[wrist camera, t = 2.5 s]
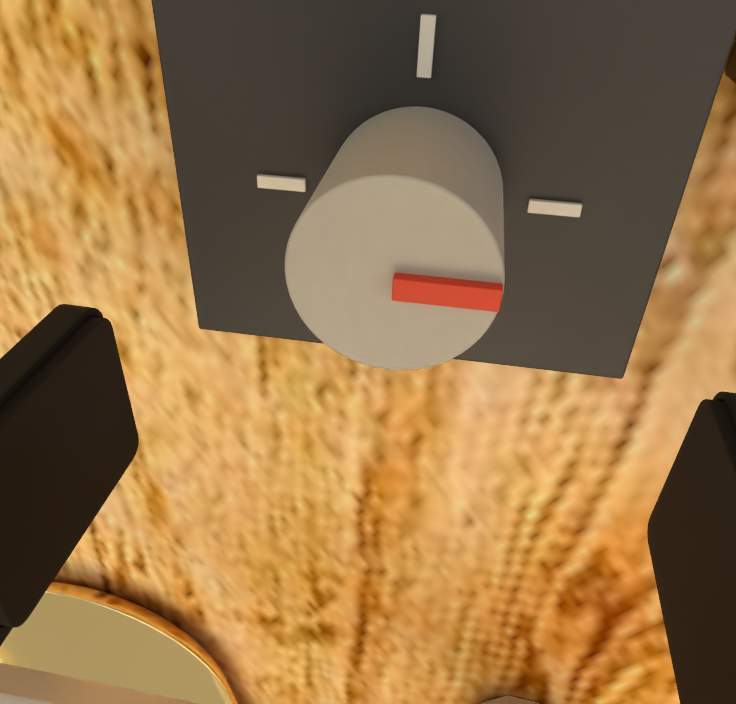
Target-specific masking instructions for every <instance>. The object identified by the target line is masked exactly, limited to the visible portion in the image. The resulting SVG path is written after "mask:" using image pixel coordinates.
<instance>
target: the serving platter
mask: <svg viewBox="0 0 736 704" xmlns="http://www.w3.org/2000/svg"><path fill="white" fill-rule="evenodd" d="M0 663H4V664H9V665H14V666H19V667H24V668H28V669H33V670H38V671H43V672H48V673H53V674H58V675H63V676H68V677H72V678H77V679H82V680H87V681H92V682H97V683H102V684H107V685H111V686H116V687H121V688H126V689H131V690H136V691H141V692H146V693H151V694H155V695H160V696H165V697H170V698H175V699H179V700H184V701H189V702H194V703H198V704H238V702H237V700H236V698H235V696H234V694H233V692H232V690H231V688H230V686H229V684H228V682H227V680H226V678H225V676H224V674H223V672H222V671H221V669H220V668H219V666H218V665H217V663H216V662H215V661H214V660H213V658H212V657H211V656H210V655H209V654H208V653H207V652H206V650H205V649H204V648H203V647H201V646H200V645H199V644H198V643H197V642H196V641H195V640H194V639H193V638H191V637H190V636H189V635H188V634H186V633H185V632H184V631H182V630H181V629H180V628H178V627H177V626H175V625H174V624H172V623H171V622H169V621H168V620H166V619H164V618H163V617H161V616H159V615H157V614H155V613H154V612H152V611H150V610H148V609H146V608H144V607H142V606H139V605H137V604H135V603H133V602H130V601H128V600H125V599H123V598H120V597H117V596H115V595H112V594H108V593H105V592H102V591H99V590H95V589H91V588H87V587H83V586H78V585H73V584H66V583H59V582H52V583H51V584H50V586H49V587H48V589H47V590H46V592H45V594H44V595H43V597H42V598H41V600H40V601H39V603H38V604H37V606H36V607H35V609H34V610H33V612H32V613H31V615H30V616H29V618H28V619H27V620H26V621H25V623H23V624H22V625H21V626H19V627H17V628H15V627H13V628H12V630H11V631H10V633H9V634H8V636H7V637H6V639H5V640H4V642H3V643H2V645H1V646H0Z"/></svg>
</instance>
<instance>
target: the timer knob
mask: <svg viewBox="0 0 736 704" xmlns="http://www.w3.org/2000/svg"><path fill="white" fill-rule="evenodd" d="M285 276H286V283H287V287H288V291H289V294H290V297H291V299H292V302H293V304H294V307H295V309H296V310H297V312H298V314H299V316H300V317H301V319H302V320H303V321H304V323H305V324H306V325H307V327H308V328H309V329H310V330H311V331H312V332H313V333H314V334H315V336H316V337H317V338H319V339H320V340H321V341H322V342H323V343H325V344H326V345H327V346H328V347H330V348H331V349H333V350H334V351H336V352H337V353H339V354H341V355H343V356H345V357H347V358H349V359H351V360H353V361H356V362H358V363H361V364H364V365H368V366H371V367H376V368H381V369H388V370H415V369H421V368H427V367H431V366H435V365H438V364H441V363H443V362H446V361H448V360H451V359H452V358H454V357H456V356H458V355H460V354H461V353H463V352H464V351H466V350H467V349H468V348H470V347H471V346H472V345H473V344H474V343H476V342H477V341H478V340H479V339H480V338H481V337H482V336H483V334H484V333H485V332H486V331H487V329H488V328H489V327H490V325H491V323H492V322H493V320H494V318H495V317H496V314H497V312H499V311H500V305H501V301H502V297H503V293H504V283H505V264H504V208H503V181H502V176H501V171H500V168H499V165H498V162H497V159H496V157H495V155H494V153H493V151H492V149H491V148H490V146H489V145H488V144H487V142H486V141H485V139H484V138H483V137H482V136H481V135H480V134H479V133H478V132H477V131H476V130H475V129H474V128H473V127H471V126H470V125H469V124H468V123H466V122H465V121H463V120H461V119H460V118H458V117H456V116H454V115H452V114H450V113H447V112H445V111H441V110H438V109H434V108H428V107H410V106H409V107H401V108H395V109H392V110H388V111H385V112H382V113H380V114H378V115H375V116H373V117H372V118H370V119H368V120H367V121H365V122H364V123H362V124H361V125H360V126H359V127H358V128H356V129H355V130H354V131H353V132H352V133H351V134H350V136H349V137H348V138H347V139H346V141H345V142H344V143H343V145H342V146H341V148H340V150H339V151H338V153H337V155H336V156H335V158H334V160H333V161H332V163H331V165H330V166H329V168H328V170H327V171H326V173H325V175H324V176H323V178H322V180H321V181H320V183H319V185H318V186H317V188H316V190H315V191H314V193H313V195H312V196H311V198H310V200H309V201H308V203H307V205H306V207H305V208H304V210H303V212H302V213H301V215H300V217H299V218H298V220H297V222H296V224H295V226H294V228H293V230H292V232H291V234H290V237H289V240H288V243H287V248H286V254H285Z"/></svg>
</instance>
